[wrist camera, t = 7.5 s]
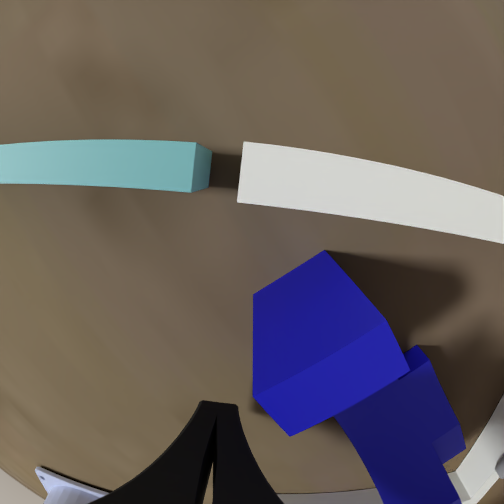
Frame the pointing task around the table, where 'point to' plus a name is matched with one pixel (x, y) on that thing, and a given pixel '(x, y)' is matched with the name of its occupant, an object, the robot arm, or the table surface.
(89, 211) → the table surface
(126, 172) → the gate
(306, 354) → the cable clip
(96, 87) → the table surface
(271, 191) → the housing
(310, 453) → the table surface
